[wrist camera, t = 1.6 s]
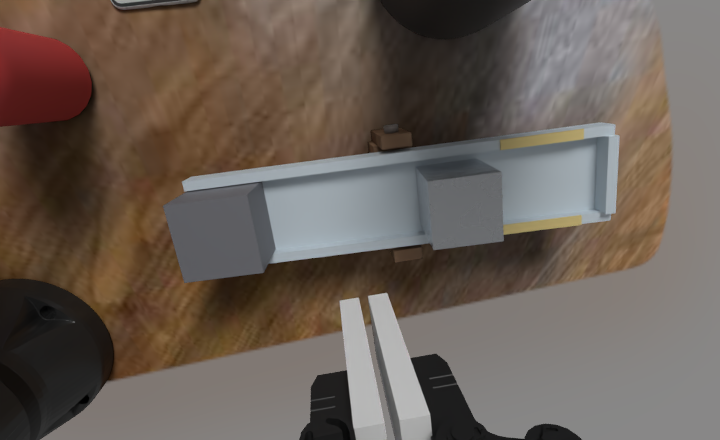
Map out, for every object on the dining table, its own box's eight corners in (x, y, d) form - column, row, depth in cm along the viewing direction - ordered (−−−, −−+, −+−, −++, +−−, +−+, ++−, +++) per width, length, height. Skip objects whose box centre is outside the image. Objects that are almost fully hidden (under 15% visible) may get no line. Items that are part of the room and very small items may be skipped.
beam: (213, 262, 37) (187, 293, 32) (191, 176, 35) (159, 193, 29) (597, 213, 36) (642, 236, 31) (600, 122, 34) (650, 128, 28)
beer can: (100, 122, 36) (-1, 134, 25) (17, 119, 35) (-126, 130, 24) (90, 40, 34) (-24, 11, 23) (2, 34, 34) (-161, 3, 22)
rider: (420, 224, 35) (433, 250, 30) (414, 166, 34) (427, 181, 28) (479, 217, 35) (503, 241, 30) (476, 158, 34) (501, 171, 28)
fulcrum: (380, 244, 42) (391, 269, 36) (365, 124, 38) (374, 129, 32) (411, 239, 42) (428, 264, 36) (400, 119, 38) (415, 124, 32)
